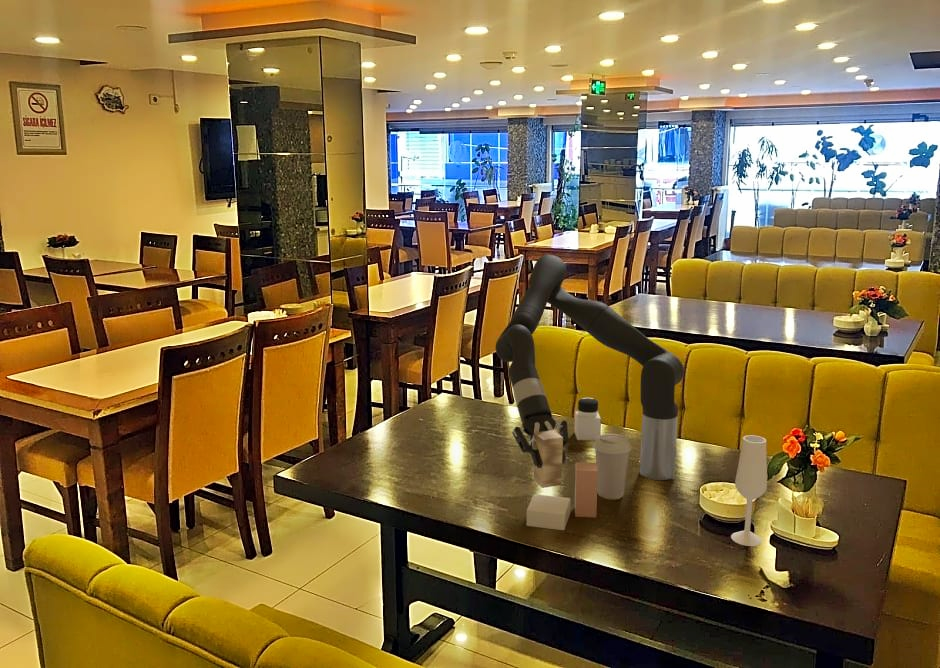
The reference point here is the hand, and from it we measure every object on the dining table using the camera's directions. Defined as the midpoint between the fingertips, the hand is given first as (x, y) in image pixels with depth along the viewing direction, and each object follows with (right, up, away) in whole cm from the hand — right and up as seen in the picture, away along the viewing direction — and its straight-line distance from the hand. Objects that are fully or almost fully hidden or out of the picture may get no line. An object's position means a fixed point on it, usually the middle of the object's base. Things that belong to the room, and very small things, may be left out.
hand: (551, 464), depth 179 cm
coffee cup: (+17, -11, +18) cm, 27 cm away
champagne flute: (+44, -16, -5) cm, 47 cm away
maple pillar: (-1, -5, +3) cm, 6 cm away
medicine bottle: (+17, -1, +59) cm, 61 cm away
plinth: (0, -14, +5) cm, 15 cm away
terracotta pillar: (+9, -13, +8) cm, 18 cm away
